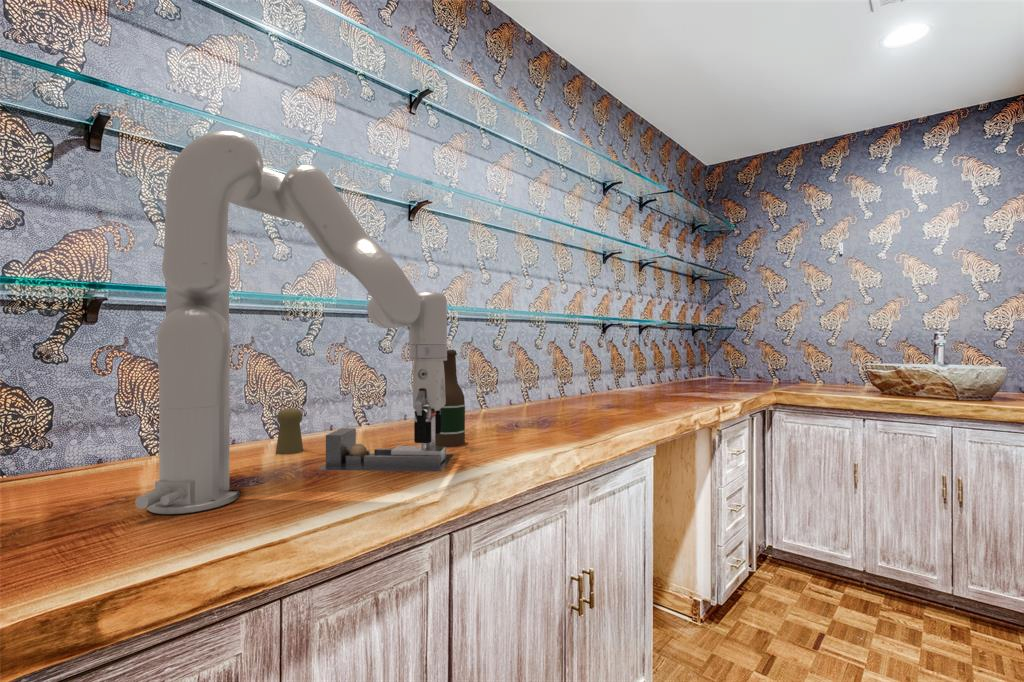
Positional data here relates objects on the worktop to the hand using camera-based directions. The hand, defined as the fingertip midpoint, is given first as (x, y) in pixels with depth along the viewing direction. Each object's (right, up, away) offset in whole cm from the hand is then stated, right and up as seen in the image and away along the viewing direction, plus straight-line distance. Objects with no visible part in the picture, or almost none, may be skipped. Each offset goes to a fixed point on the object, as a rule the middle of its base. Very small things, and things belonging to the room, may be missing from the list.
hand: (428, 437), depth 99 cm
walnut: (-15, -5, +1) cm, 15 cm away
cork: (-33, -7, +10) cm, 35 cm away
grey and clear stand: (-2, -5, 0) cm, 5 cm away
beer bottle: (+2, -7, +18) cm, 19 cm away
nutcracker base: (-8, -6, 0) cm, 10 cm away
